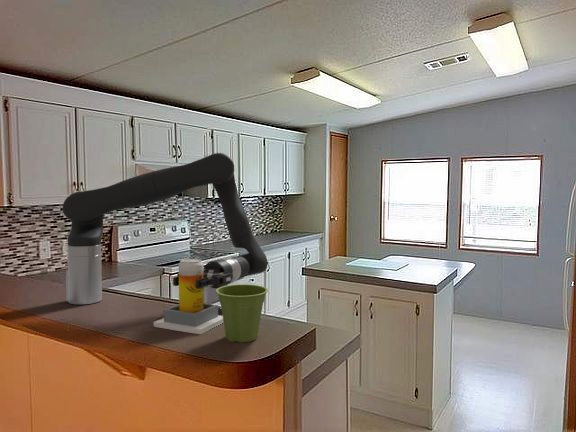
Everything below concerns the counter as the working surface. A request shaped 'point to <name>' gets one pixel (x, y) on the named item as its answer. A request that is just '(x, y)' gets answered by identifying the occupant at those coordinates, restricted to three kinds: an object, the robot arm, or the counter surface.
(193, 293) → the beer can
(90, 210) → the robot arm
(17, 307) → the counter surface
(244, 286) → the plant pot
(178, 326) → the dock
